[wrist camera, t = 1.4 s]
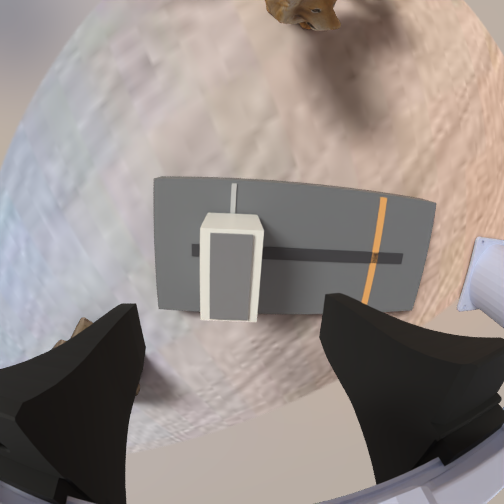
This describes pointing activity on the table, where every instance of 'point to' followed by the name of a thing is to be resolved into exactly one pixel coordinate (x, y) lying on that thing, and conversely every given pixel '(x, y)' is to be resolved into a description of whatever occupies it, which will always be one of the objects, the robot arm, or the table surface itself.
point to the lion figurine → (305, 13)
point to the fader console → (297, 242)
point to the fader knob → (230, 267)
